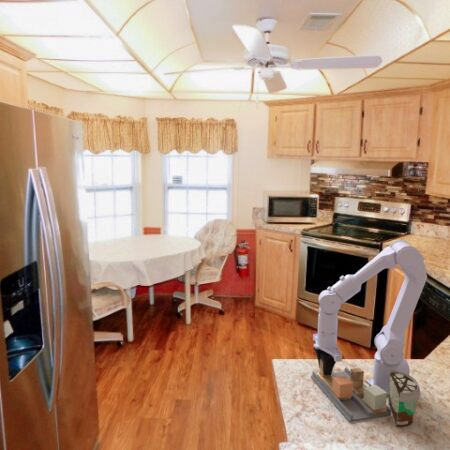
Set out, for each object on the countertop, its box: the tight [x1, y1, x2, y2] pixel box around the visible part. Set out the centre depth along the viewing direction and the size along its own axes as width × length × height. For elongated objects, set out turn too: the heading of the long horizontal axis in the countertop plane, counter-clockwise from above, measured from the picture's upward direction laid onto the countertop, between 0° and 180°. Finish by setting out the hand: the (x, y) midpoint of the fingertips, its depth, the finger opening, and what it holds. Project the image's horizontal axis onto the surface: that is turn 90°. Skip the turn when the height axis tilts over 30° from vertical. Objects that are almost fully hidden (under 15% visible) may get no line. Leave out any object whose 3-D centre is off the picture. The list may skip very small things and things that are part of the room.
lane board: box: [310, 366, 392, 423], centre depth 110 cm, size 12×22×2 cm, turn 13°
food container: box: [387, 370, 421, 428], centre depth 100 cm, size 12×6×10 cm, turn 168°
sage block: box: [363, 385, 388, 410], centre depth 103 cm, size 4×4×4 cm
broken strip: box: [350, 367, 387, 414], centre depth 106 cm, size 4×12×6 cm, turn 13°
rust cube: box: [332, 376, 353, 398], centre depth 108 cm, size 4×4×4 cm
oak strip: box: [316, 359, 351, 400], centre depth 112 cm, size 4×12×6 cm, turn 13°
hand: (325, 372), depth 117 cm, fingers closed on oak strip, 2 cm apart
